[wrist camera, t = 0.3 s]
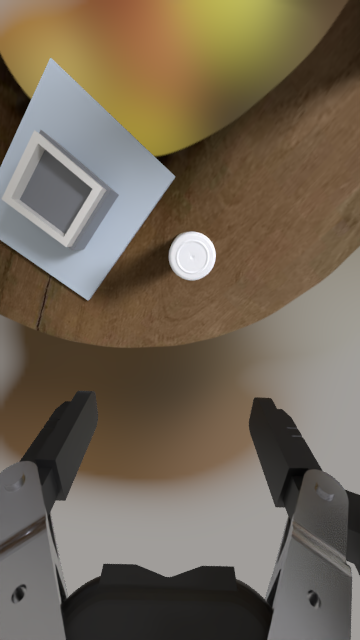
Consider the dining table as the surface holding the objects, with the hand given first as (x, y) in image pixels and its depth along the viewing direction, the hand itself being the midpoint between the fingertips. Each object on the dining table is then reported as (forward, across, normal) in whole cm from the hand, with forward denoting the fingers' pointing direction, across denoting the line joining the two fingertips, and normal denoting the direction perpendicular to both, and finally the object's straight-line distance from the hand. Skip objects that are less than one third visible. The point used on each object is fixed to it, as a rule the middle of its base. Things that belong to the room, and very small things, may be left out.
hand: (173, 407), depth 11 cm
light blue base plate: (+26, +15, -11) cm, 32 cm away
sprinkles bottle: (+27, -1, -6) cm, 27 cm away
